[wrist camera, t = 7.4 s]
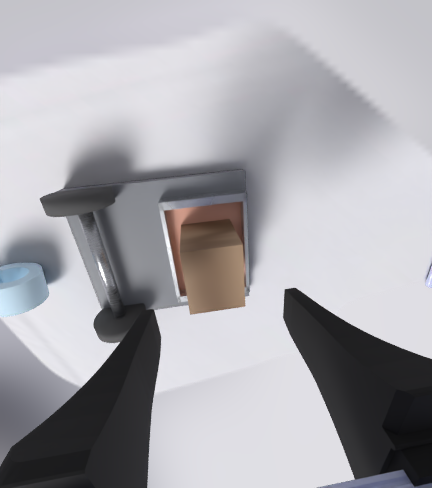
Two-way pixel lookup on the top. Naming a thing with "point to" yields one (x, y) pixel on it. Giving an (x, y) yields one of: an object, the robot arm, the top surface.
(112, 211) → the chassis
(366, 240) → the top surface
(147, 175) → the top surface
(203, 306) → the block
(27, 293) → the mechanical part
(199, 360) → the top surface
